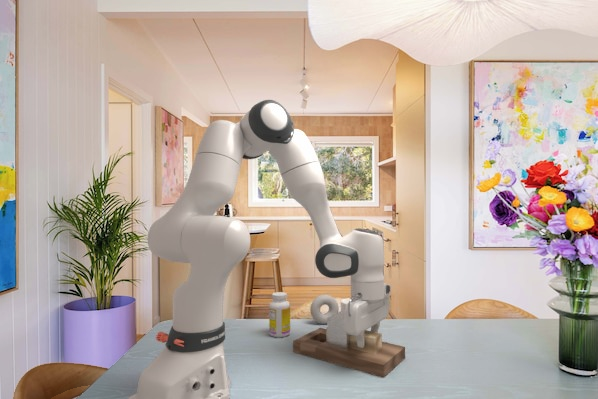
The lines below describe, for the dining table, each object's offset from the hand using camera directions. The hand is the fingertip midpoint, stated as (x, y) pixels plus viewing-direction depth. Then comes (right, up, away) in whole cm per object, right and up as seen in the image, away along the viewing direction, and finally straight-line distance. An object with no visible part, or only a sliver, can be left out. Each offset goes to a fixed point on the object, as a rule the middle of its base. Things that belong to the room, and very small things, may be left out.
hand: (367, 342), depth 102 cm
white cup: (-1, -5, +22) cm, 22 cm away
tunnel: (-6, -2, +4) cm, 7 cm away
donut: (-9, -5, +30) cm, 32 cm away
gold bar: (-3, -2, +2) cm, 4 cm away
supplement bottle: (-24, -5, +20) cm, 32 cm away
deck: (-5, -5, +3) cm, 7 cm away
